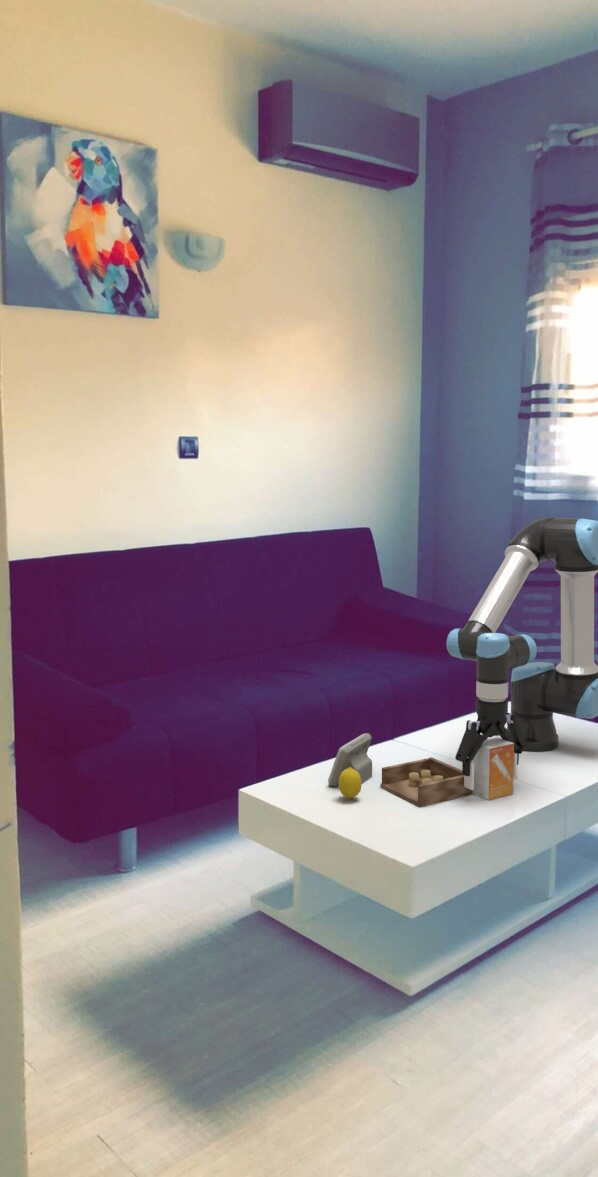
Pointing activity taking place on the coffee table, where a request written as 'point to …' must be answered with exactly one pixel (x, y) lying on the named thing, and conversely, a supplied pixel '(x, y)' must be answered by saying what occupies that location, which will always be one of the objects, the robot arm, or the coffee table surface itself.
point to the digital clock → (353, 759)
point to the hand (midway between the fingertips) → (490, 783)
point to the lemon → (350, 783)
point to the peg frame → (424, 782)
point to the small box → (494, 769)
